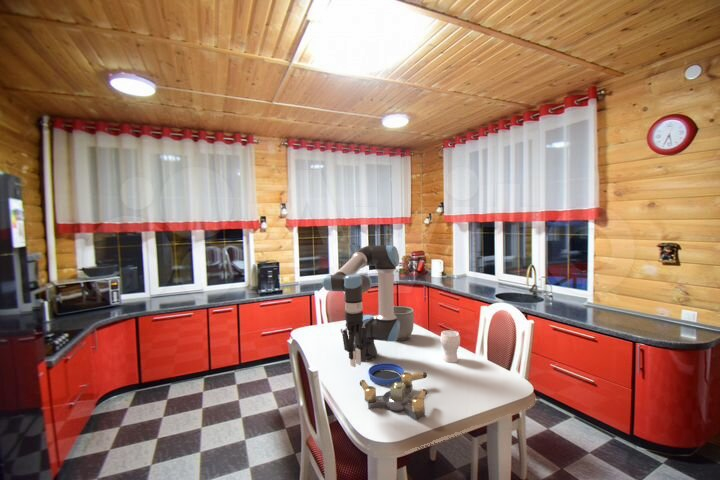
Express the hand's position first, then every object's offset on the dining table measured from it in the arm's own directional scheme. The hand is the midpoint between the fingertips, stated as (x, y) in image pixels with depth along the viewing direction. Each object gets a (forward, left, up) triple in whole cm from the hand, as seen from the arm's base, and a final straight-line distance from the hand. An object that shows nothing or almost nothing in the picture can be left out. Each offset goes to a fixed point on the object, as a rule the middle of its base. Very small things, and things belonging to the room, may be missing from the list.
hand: (355, 364), depth 136 cm
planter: (-7, +80, -17) cm, 82 cm away
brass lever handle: (+27, +4, -14) cm, 31 cm away
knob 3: (+4, +3, -14) cm, 15 cm away
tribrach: (+17, +8, -16) cm, 25 cm away
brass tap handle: (+20, +21, -14) cm, 32 cm away
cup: (+30, +58, -17) cm, 67 cm away
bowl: (+4, +26, -17) cm, 31 cm away
